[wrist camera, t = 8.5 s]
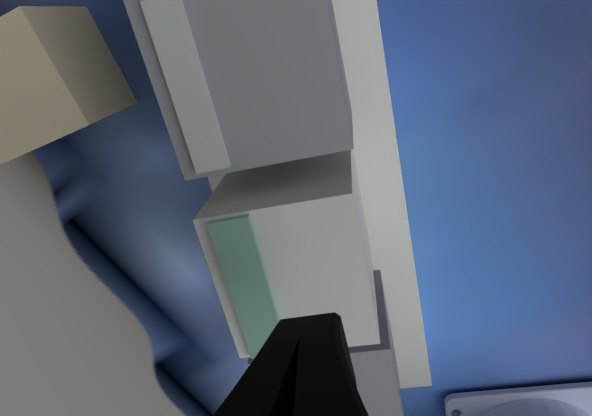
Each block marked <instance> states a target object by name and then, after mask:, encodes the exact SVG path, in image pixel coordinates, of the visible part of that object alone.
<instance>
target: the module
mask: <svg viewBox="0 0 592 416" xmlns="http://www.w3.org/2000/svg"><path fill="white" fill-rule="evenodd" d="M192 221H193V223H194V226H195V229H196V232H197V235H198V238H199V241H200V244H201V247H202V250H203V253H204V255H205V258H206V261H207V264H208V267H209V270H210V273H211V276H212V279H213V282H214V285H215V287H216V290H217V293H218V296H219V299H220V302H221V305H222V308H223V311H224V314H225V317H226V319H227V322H228V325H229V328H230V331H231V334H232V337H233V340H234V343H235V346H236V349H237V351H238V354H239V357H240V359H241V358H250V357H251V359H254V358H255V357H256V355H257V354H258V352H259V351H260V349H261V348H262V346H263V345H264V343H265V342H266V340H267V338H268V337H269V335H270V334H271V332H272V331H273V329H274V328H275V326H276V325H277V324H278V322H279V321H280V320H281V319H287V318H295V317H302V316H310V315H317V314H325V313H332V312H335V313H337V314H338V315H340V316H341V320H342V324H343V328H344V332H345V336H346V340H347V344H348V347H354V346H363V345H373V344H380V334H379V324H378V314H377V304H376V294H375V284H374V274H373V264H372V255H371V246H370V240H369V235H368V229H367V224H366V218H365V213H364V207H363V202H362V196H361V191H360V185H359V180H358V174H357V169H356V163H355V157H354V152H353V149H352V150H346V151H341V152H336V153H330V154H325V155H320V156H314V157H309V158H304V159H298V160H293V161H288V162H283V163H277V164H272V165H267V166H261V167H256V168H251V169H245V170H240V171H235V172H230V173H226V174H225V176H224V177H223V179H222V180H221V181H220V183H219V184H218V185H217V187H216V188H215V190H214V191H213V192H212V194H211V195H210V197H209V198H208V199H207V201H206V202H205V203H204V205H203V206H202V208H201V209H200V210H199V212H198V213H197V214H196V216H195V217H194V219H193V220H192Z"/></svg>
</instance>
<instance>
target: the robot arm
mask: <svg viewBox="0 0 592 416" xmlns="http://www.w3.org/2000/svg"><path fill="white" fill-rule="evenodd" d="M444 405H445V413H446V416H592V382H580V383H569V384H557V385H545V386H534V387H522V388H510V389H499V390H487V391H476V392H464V393H453V394H449V395H447V396H446V397H445V399H444ZM456 409H457V410H456ZM453 410H456V411H453ZM213 416H369V415H368V413H367V411H366V409H365V406H364V404H363V402H362V400H361V397H360V395H359V392H358V390H357V384H356V377H355V373H354V369H353V365H352V361H351V357H350V353H349V348H348V344H347V340H346V336H345V332H344V328H343V324H342V320H341V316H340V315H338V314H337V313H335V312H332V313H325V314H317V315H310V316H302V317H295V318H287V319H281V320H280V321H279V322H278V324H277V325H276V326H275V328H274V329H273V331H272V332H271V334H270V335H269V337H268V338H267V340H266V342H265V343H264V345H263V346H262V348H261V349H260V351H259V352H258V354H257V355H256V357H255V358H254V360H253V361H252V363H251V364H250V366H249V367H248V368H247V370H246V371H245V373H244V374H243V376H242V377H241V378H240V380H239V381H238V383H237V384H236V386H235V387H234V388H233V390H232V391H231V393H230V394H229V395H228V397H227V398H226V399H225V401H224V402H223V403H222V405H221V406H220V407H219V408H218V410H217V411H216V412H215V414H214V415H213Z"/></svg>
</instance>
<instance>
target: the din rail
mask: <svg viewBox="0 0 592 416" xmlns="http://www.w3.org/2000/svg"><path fill="white" fill-rule="evenodd" d="M123 1H124V4H125V7H126V10H127V13H128V16H129V19H130V22H131V25H132V28H133V31H134V34H135V37H136V40H137V42H138V45H139V48H140V51H141V54H142V57H143V60H144V63H145V66H146V69H147V72H148V75H149V78H150V81H151V83H152V86H153V89H154V92H155V95H156V98H157V101H158V104H159V107H160V110H161V113H162V116H163V119H164V122H165V124H166V127H167V130H168V133H169V136H170V139H171V142H172V145H173V148H174V151H175V154H176V157H177V160H178V163H179V165H180V168H181V171H182V174H183V177H184V180H185V181H187V180H192V179H198V178H203V177H208V181H209V184H210V187H211V190H212V192H213V191H214V190H215V188H216V187H217V185H218V184H219V183H220V181H221V180H222V179H223V177H224V176H225V174H226V173H230V172H235V171H240V170H245V169H251V168H256V167H261V166H267V165H272V164H277V163H283V162H288V161H293V160H298V159H304V158H309V157H314V156H320V155H325V154H330V153H336V152H341V151H346V150H352V149H353V152H354V157H355V163H356V169H357V174H358V180H359V185H360V191H361V196H362V202H363V207H364V213H365V218H366V224H367V229H368V235H369V240H370V246H371V255H372V264H373V274H374V284H375V294H376V304H377V314H378V324H379V334H380V344H373V345H363V346H354V347H348V348H349V353H350V357H351V361H352V365H353V369H354V373H355V377H356V384H357V390H358V392H359V395H360V397H361V400H362V402H363V404H364V406H365V409H366V411H367V413H368V415H369V416H404V410H403V403H402V396H401V389H402V388H413V387H425V386H432V381H431V375H430V368H429V361H428V354H427V347H426V340H425V333H424V326H423V319H422V312H421V305H420V298H419V292H418V285H417V278H416V271H415V264H414V257H413V250H412V243H411V236H410V229H409V222H408V215H407V208H406V202H405V195H404V188H403V181H402V174H401V167H400V160H399V153H398V146H397V139H396V132H395V125H394V119H393V112H392V105H391V98H390V91H389V84H388V77H387V70H386V63H385V56H384V49H383V42H382V36H381V29H380V22H379V15H378V8H377V1H376V0H123ZM253 360H254V359H251V357H250V358H249V360H248V364H247V365H248V367H249V366H250V364H251V363H252V361H253Z"/></svg>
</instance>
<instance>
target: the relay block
mask: <svg viewBox="0 0 592 416" xmlns="http://www.w3.org/2000/svg"><path fill="white" fill-rule="evenodd" d="M136 103H138V102H137V100H136V98H135V96H134V94H133V92H132V91H131V89H130V87H129V85H128V83H127V81H126V79H125V78H124V76H123V74H122V72H121V70H120V68H119V66H118V65H117V63H116V61H115V59H114V57H113V55H112V53H111V52H110V50H109V48H108V46H107V44H106V42H105V40H104V39H103V37H102V35H101V33H100V31H99V29H98V27H97V26H96V24H95V22H94V20H93V18H92V16H91V14H90V13H89V11H88V9H87V7H86V6H19V7H17V8H15V9H14V10H12V11H10V12H8V13H6V14H4V15H3V16H1V17H0V165H1V164H3V163H6V162H8V161H10V160H12V159H15V158H17V157H19V156H21V155H24V154H26V153H28V152H30V151H32V150H35V149H37V148H39V147H41V146H44V145H46V144H48V143H50V142H53V141H55V140H57V139H59V138H61V137H64V136H66V135H68V134H70V133H73V132H75V131H77V130H79V129H82V128H84V127H86V126H88V125H90V124H93V123H95V122H97V121H99V120H101V119H104V118H106V117H108V116H110V115H112V114H115V113H117V112H119V111H121V110H123V109H126V108H128V107H130V106H132V105H134V104H136Z"/></svg>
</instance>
